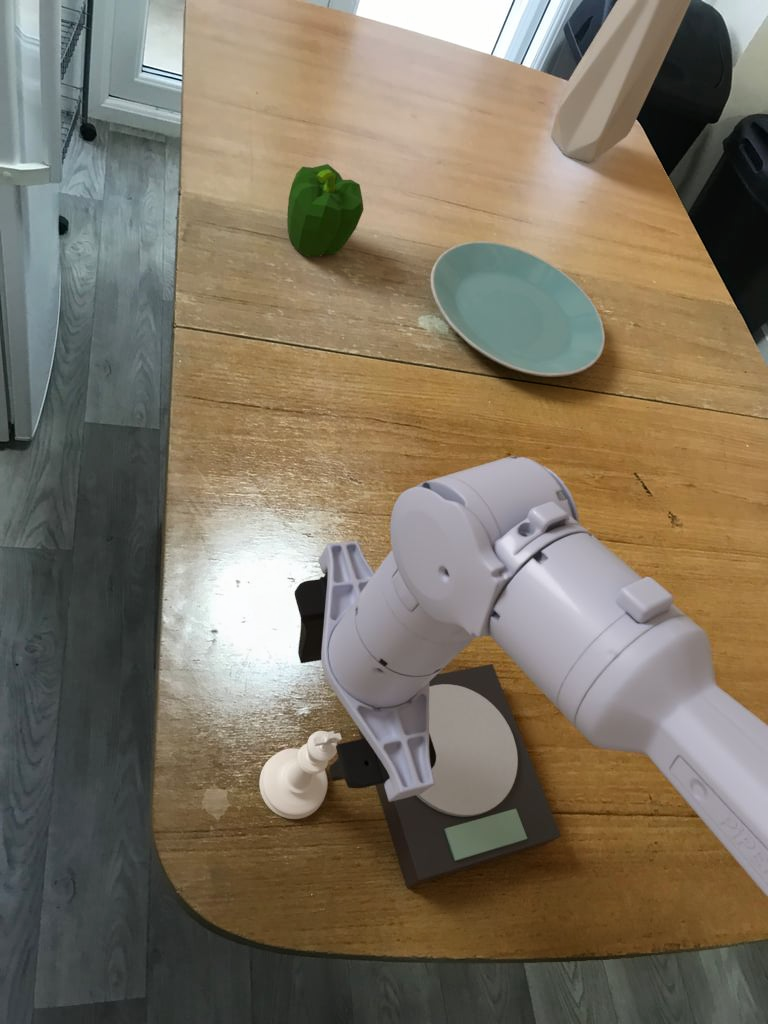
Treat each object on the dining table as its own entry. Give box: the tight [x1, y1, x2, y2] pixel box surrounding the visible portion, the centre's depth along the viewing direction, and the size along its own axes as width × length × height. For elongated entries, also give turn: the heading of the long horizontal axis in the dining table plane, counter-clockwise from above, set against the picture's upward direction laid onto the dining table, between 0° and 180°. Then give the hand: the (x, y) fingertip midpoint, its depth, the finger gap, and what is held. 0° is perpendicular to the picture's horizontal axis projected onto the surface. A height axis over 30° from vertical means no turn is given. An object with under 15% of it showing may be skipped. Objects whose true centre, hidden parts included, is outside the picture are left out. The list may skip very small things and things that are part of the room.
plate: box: [429, 240, 606, 378], centre depth 99 cm, size 22×22×3 cm
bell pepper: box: [286, 163, 364, 258], centre depth 92 cm, size 8×8×10 cm
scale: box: [357, 663, 562, 889], centre depth 64 cm, size 14×12×3 cm
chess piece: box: [258, 730, 343, 820], centre depth 56 cm, size 5×5×10 cm
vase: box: [550, 0, 692, 164], centre depth 118 cm, size 12×12×33 cm
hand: (329, 712), depth 53 cm, fingers open, 7 cm apart
